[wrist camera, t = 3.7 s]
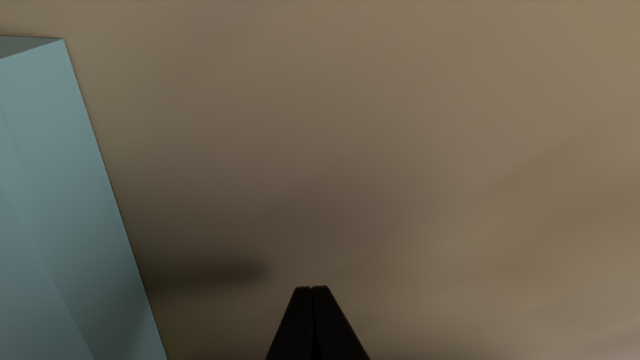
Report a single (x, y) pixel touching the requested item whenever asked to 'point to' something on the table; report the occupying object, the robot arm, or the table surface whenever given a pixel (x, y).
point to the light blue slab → (61, 223)
